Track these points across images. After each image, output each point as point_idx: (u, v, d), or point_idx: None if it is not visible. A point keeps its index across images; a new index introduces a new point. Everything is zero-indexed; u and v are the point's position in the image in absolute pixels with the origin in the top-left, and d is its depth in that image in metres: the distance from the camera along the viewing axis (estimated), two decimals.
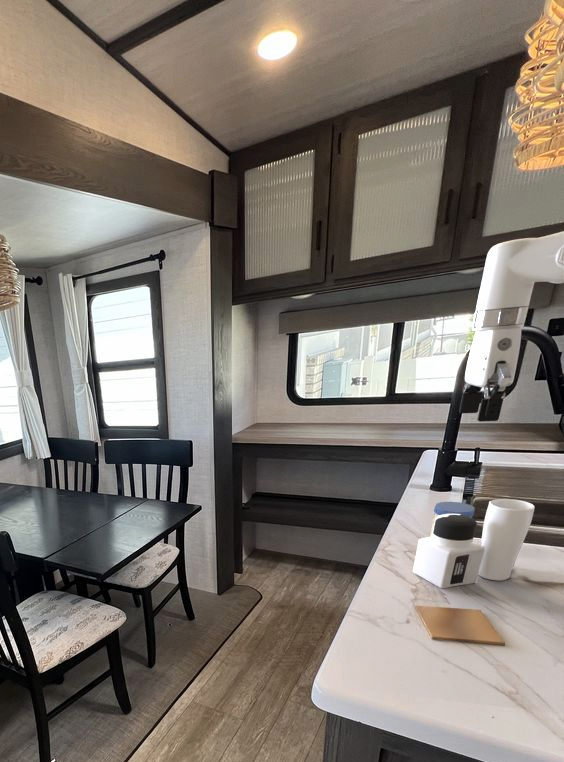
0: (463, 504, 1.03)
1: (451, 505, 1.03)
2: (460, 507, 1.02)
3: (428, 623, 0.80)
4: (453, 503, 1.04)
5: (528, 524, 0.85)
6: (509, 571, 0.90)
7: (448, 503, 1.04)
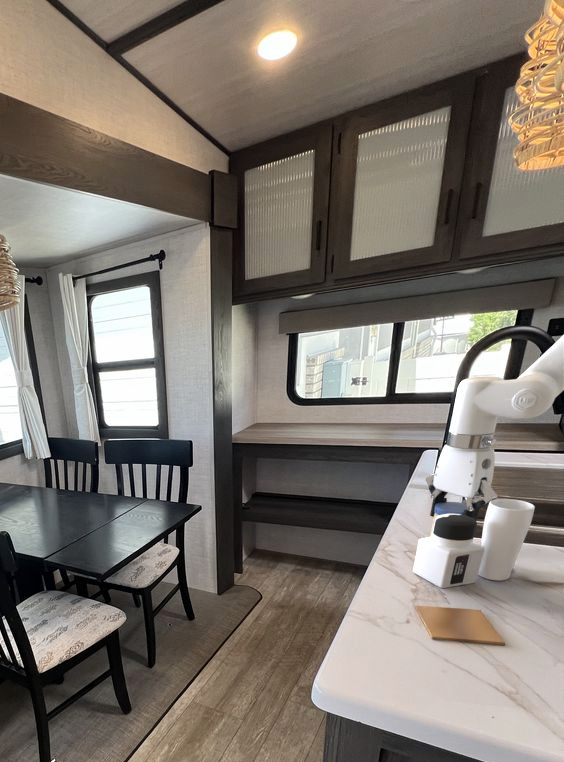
0: (463, 504, 1.03)
1: (451, 505, 1.03)
2: (460, 507, 1.02)
3: (428, 623, 0.80)
4: (453, 503, 1.04)
5: (528, 524, 0.85)
6: (509, 571, 0.90)
7: (448, 503, 1.04)
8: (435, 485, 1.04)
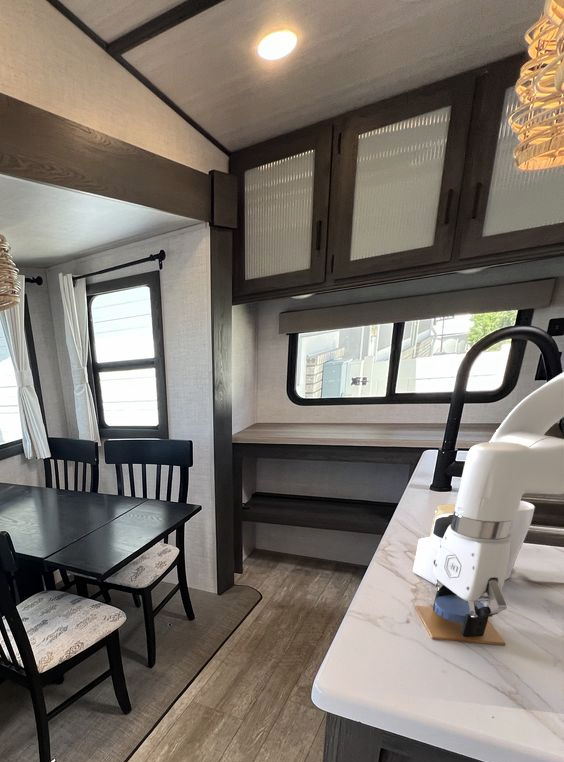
0: (445, 607, 0.78)
1: (463, 607, 0.77)
2: (454, 602, 0.78)
3: (428, 623, 0.80)
4: (458, 611, 0.76)
5: (528, 524, 0.85)
6: (509, 571, 0.90)
7: (465, 612, 0.76)
8: None
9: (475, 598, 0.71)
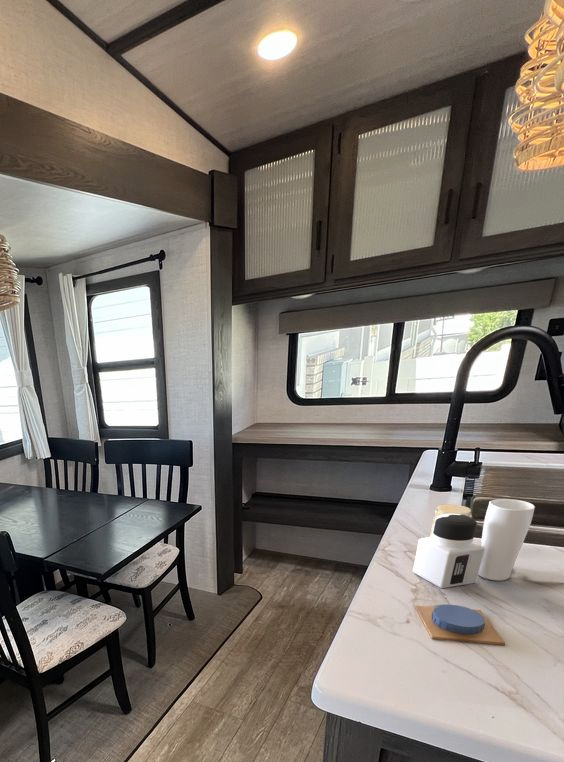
0: (443, 617, 0.78)
1: (461, 618, 0.78)
2: (451, 612, 0.79)
3: (428, 623, 0.80)
4: (456, 621, 0.77)
5: (528, 524, 0.85)
6: (509, 571, 0.90)
7: (463, 622, 0.77)
8: None
9: None
